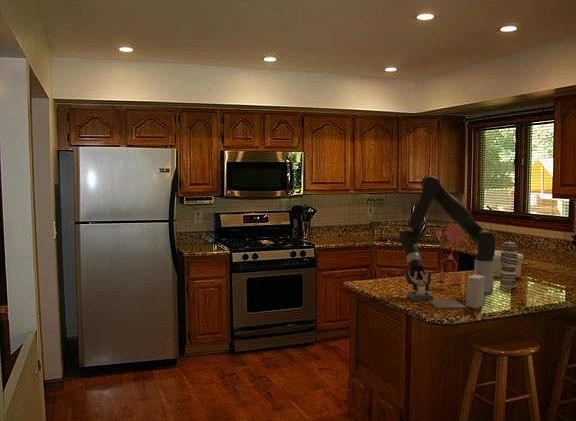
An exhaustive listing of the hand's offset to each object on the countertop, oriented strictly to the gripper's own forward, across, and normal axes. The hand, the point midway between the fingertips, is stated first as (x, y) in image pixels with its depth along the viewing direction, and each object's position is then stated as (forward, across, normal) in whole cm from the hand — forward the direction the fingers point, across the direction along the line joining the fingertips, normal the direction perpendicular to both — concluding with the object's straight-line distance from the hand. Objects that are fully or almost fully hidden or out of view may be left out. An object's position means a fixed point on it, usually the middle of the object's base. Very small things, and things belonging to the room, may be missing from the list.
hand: (421, 290), depth 274 cm
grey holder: (+2, 0, +5) cm, 5 cm away
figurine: (-25, +33, +32) cm, 53 cm away
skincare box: (+13, +22, -6) cm, 27 cm away
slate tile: (+11, +9, -5) cm, 15 cm away
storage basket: (-38, +70, +45) cm, 92 cm away
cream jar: (+2, 0, +5) cm, 5 cm away
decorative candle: (-18, +61, +24) cm, 68 cm away
